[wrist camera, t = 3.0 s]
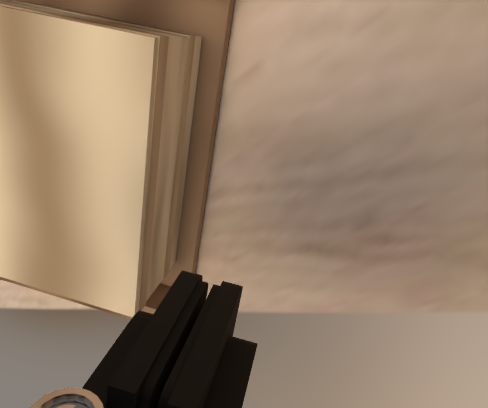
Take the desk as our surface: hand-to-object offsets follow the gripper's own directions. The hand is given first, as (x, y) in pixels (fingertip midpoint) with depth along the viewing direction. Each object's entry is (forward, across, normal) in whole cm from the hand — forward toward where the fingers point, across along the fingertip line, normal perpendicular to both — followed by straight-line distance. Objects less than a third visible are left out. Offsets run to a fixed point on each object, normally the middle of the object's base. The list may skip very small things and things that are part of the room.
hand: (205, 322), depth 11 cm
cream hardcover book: (+10, +8, 0) cm, 13 cm away
